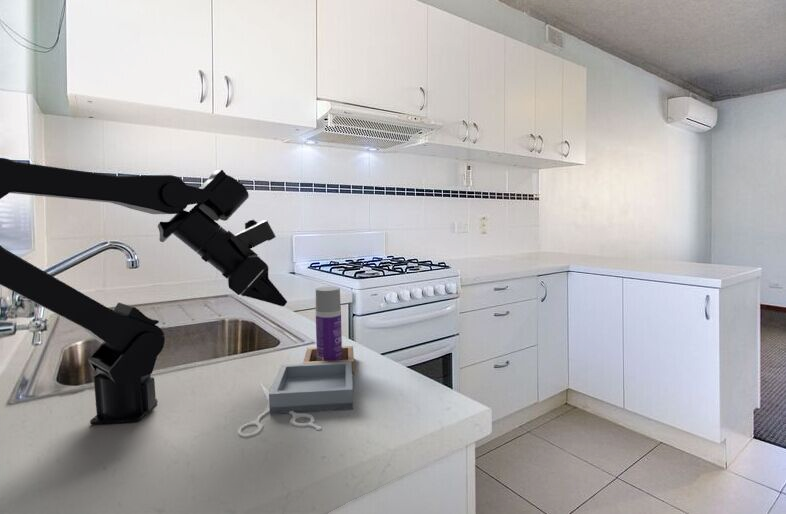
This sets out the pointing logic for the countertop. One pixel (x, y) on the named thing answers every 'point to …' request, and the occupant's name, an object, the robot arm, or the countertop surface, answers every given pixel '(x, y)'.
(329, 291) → the container
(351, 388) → the tray
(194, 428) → the countertop surface
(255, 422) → the scissors
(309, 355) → the holder
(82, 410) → the countertop surface
